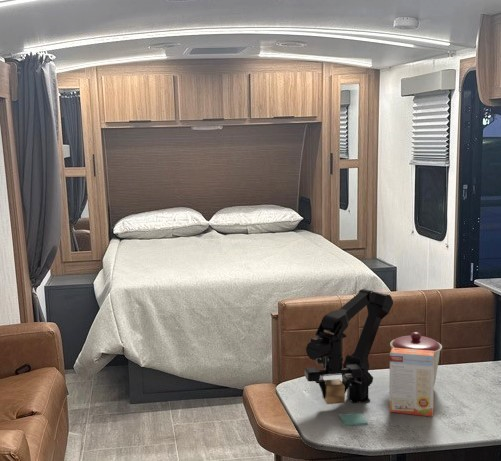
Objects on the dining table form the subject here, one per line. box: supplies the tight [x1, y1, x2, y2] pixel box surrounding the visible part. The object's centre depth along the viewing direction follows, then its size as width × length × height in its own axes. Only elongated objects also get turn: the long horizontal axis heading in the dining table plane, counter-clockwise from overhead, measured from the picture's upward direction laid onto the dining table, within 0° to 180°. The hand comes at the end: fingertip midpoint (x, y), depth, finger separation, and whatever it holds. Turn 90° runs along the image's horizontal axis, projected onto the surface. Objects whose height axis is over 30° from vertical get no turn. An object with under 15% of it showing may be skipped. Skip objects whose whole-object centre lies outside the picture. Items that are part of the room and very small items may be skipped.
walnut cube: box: [321, 378, 346, 405], centre depth 210 cm, size 6×6×6 cm
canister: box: [389, 331, 443, 386], centre depth 226 cm, size 18×18×21 cm
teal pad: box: [338, 412, 369, 427], centre depth 203 cm, size 7×7×1 cm
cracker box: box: [388, 347, 435, 417], centre depth 207 cm, size 14×6×21 cm, turn 71°
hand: (333, 397), depth 210 cm, fingers closed on walnut cube, 6 cm apart
